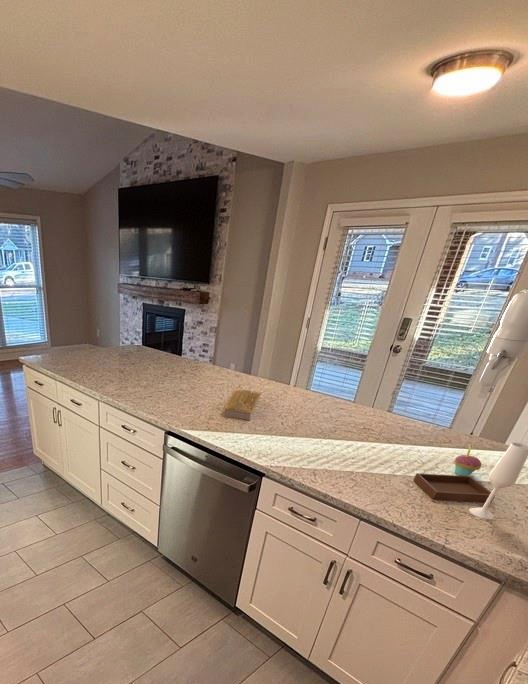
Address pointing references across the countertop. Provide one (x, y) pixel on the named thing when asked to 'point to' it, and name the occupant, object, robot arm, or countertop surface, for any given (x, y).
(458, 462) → the cupcake
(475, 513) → the champagne flute
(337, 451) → the countertop surface
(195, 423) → the countertop surface
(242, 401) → the rafter model
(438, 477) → the tray
